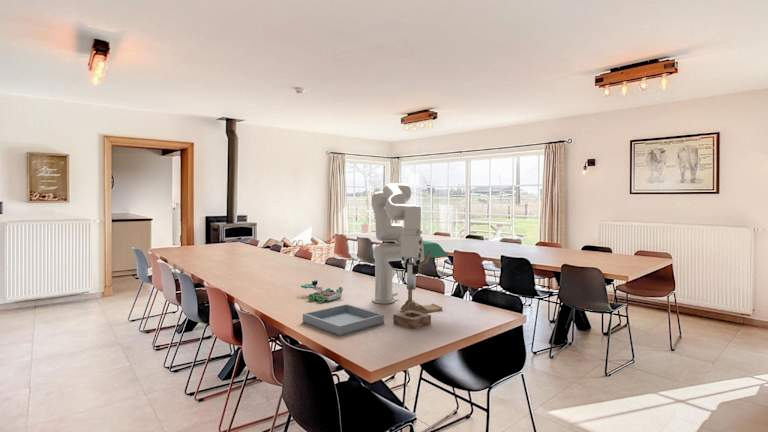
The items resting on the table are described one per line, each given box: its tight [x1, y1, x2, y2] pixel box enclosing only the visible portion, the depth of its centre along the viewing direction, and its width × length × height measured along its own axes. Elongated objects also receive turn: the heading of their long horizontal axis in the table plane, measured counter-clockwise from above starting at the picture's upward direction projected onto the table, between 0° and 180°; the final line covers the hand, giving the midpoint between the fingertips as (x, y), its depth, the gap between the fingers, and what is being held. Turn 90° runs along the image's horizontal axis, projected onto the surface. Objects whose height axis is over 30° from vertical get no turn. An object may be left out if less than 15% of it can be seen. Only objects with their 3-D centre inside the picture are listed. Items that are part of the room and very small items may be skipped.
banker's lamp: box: [400, 240, 449, 314], centre depth 215 cm, size 16×21×35 cm
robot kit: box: [300, 279, 343, 304], centre depth 240 cm, size 19×25×9 cm
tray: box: [302, 303, 385, 337], centre depth 192 cm, size 26×26×4 cm
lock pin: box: [406, 261, 417, 291], centre depth 192 cm, size 4×4×12 cm
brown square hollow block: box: [392, 310, 432, 330], centre depth 193 cm, size 12×12×4 cm
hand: (411, 272), depth 192 cm, fingers closed on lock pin, 4 cm apart
